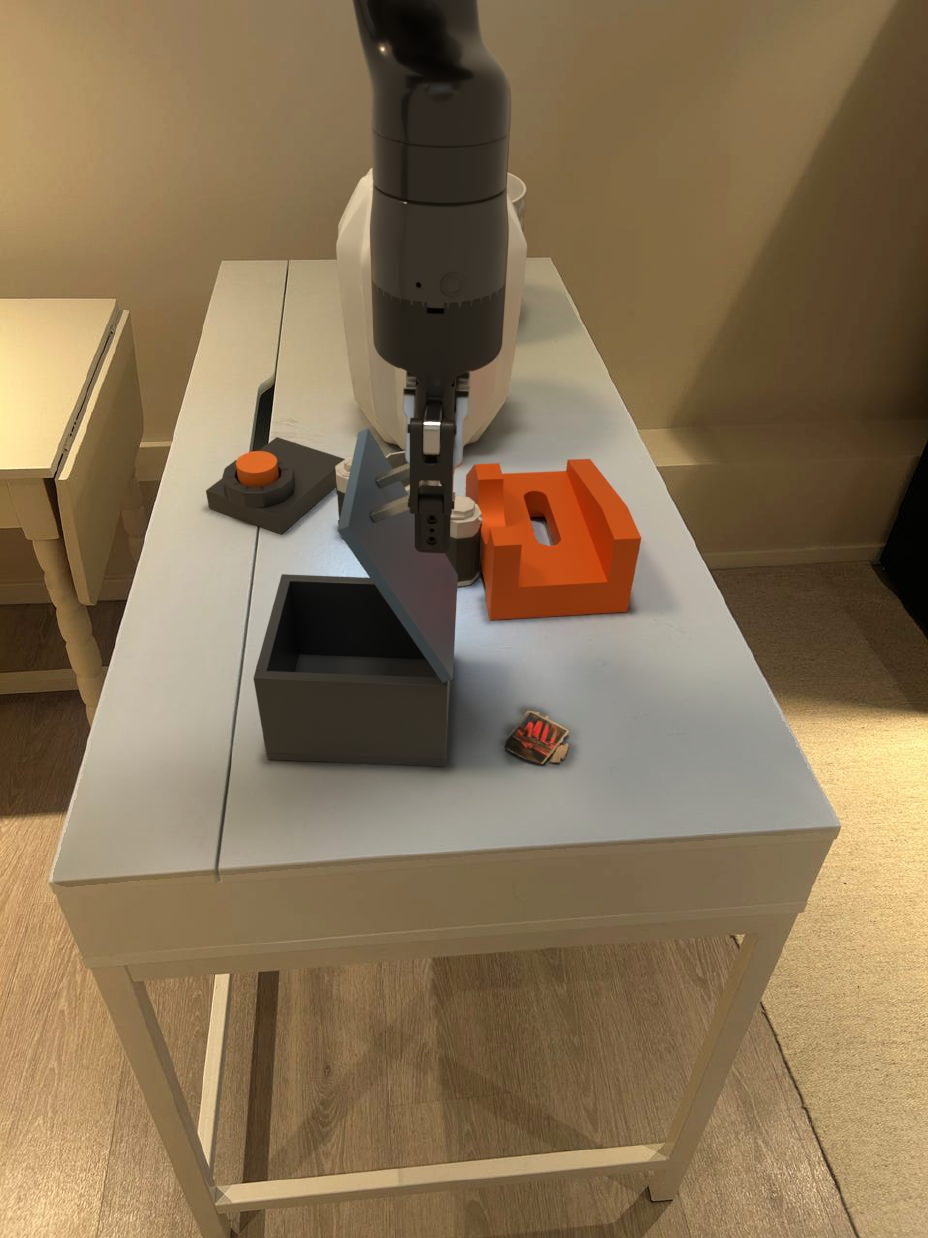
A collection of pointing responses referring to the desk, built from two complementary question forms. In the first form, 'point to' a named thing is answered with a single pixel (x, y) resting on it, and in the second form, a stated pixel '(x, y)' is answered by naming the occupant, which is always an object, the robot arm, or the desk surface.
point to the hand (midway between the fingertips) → (435, 510)
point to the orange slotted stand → (581, 531)
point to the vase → (384, 383)
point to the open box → (346, 679)
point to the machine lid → (399, 553)
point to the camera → (462, 522)
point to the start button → (257, 468)
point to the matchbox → (537, 738)
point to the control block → (277, 487)
